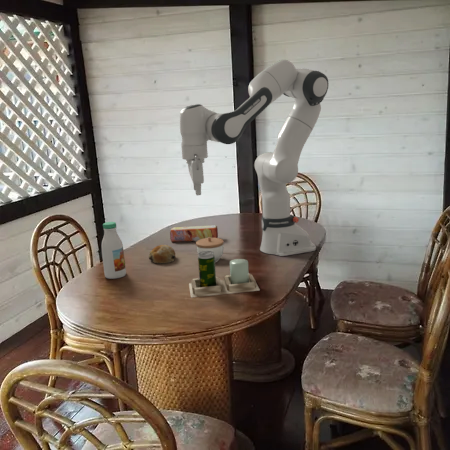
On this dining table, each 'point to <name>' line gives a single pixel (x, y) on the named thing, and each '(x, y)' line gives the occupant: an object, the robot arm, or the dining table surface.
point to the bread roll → (162, 254)
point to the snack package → (193, 233)
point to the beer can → (207, 268)
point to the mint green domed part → (239, 271)
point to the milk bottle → (112, 252)
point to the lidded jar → (211, 246)
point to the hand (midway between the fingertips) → (197, 192)
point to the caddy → (222, 287)
